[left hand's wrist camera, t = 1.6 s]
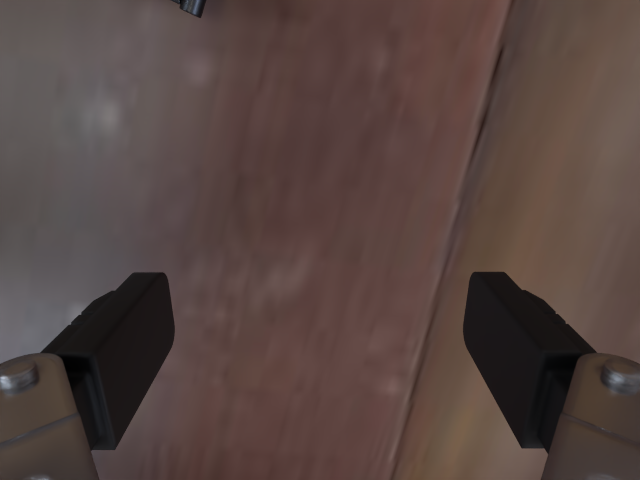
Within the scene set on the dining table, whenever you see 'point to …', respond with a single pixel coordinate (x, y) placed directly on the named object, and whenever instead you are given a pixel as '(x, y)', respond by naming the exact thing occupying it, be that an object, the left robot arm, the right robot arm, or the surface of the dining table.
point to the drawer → (192, 6)
